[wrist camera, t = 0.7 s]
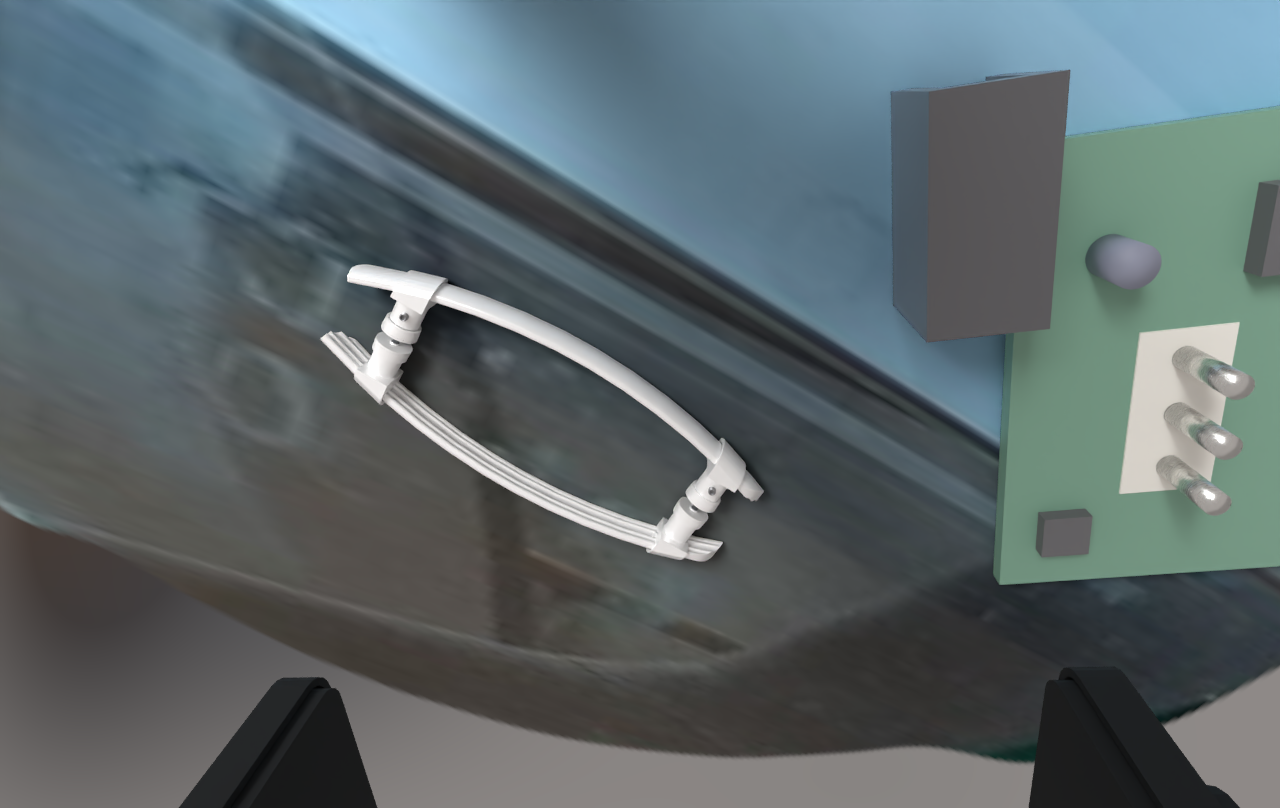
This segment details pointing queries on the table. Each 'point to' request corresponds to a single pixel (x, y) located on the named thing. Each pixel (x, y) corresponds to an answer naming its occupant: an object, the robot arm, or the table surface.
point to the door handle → (384, 386)
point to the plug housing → (977, 203)
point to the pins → (1204, 428)
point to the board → (1148, 358)
